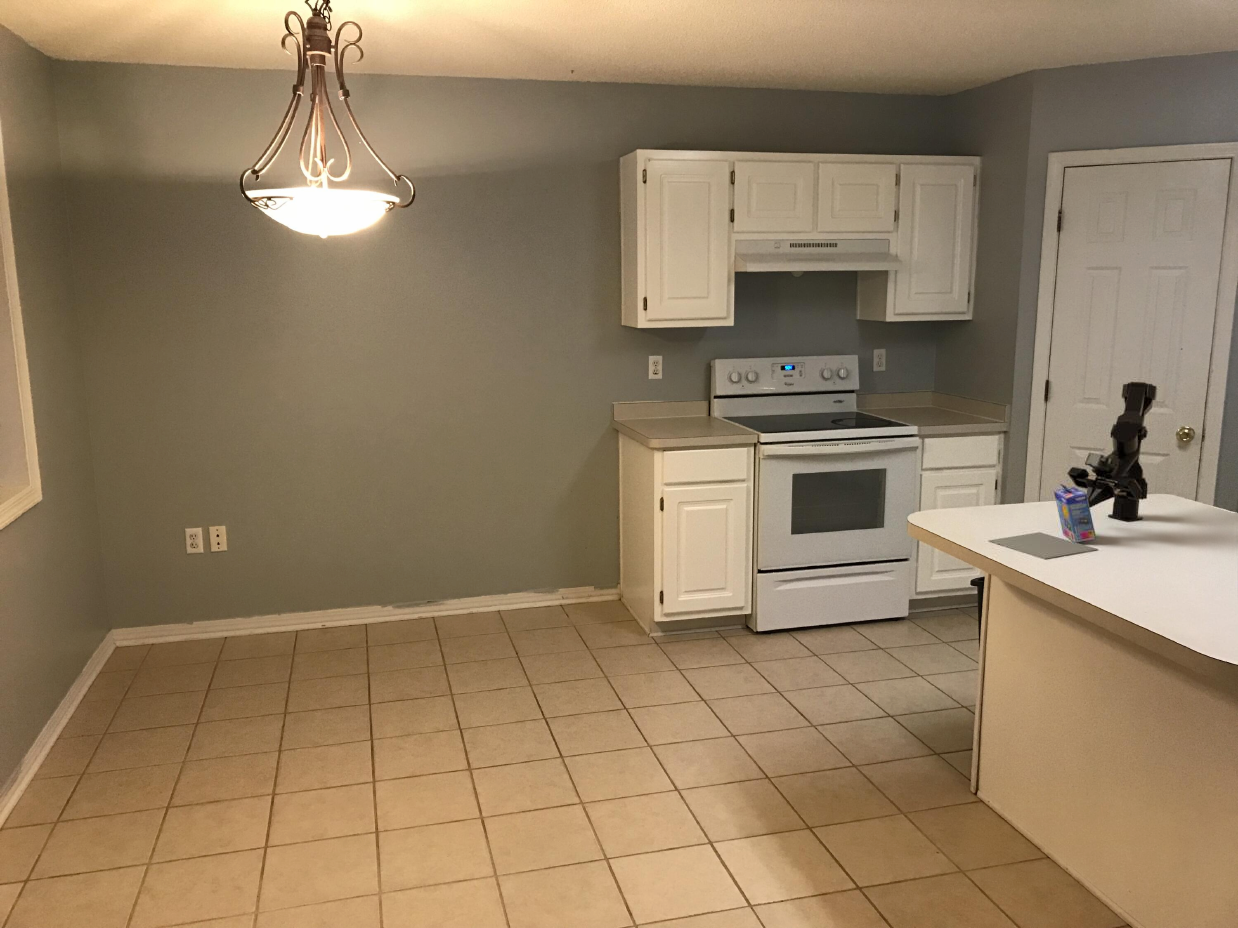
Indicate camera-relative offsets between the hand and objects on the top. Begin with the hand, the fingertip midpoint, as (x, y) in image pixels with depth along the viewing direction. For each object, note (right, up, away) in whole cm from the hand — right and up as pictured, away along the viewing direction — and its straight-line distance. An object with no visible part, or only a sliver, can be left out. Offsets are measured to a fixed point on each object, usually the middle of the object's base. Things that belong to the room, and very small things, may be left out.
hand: (1085, 507), depth 253 cm
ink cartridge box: (-1, -8, +1) cm, 8 cm away
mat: (-13, -9, -4) cm, 17 cm away
